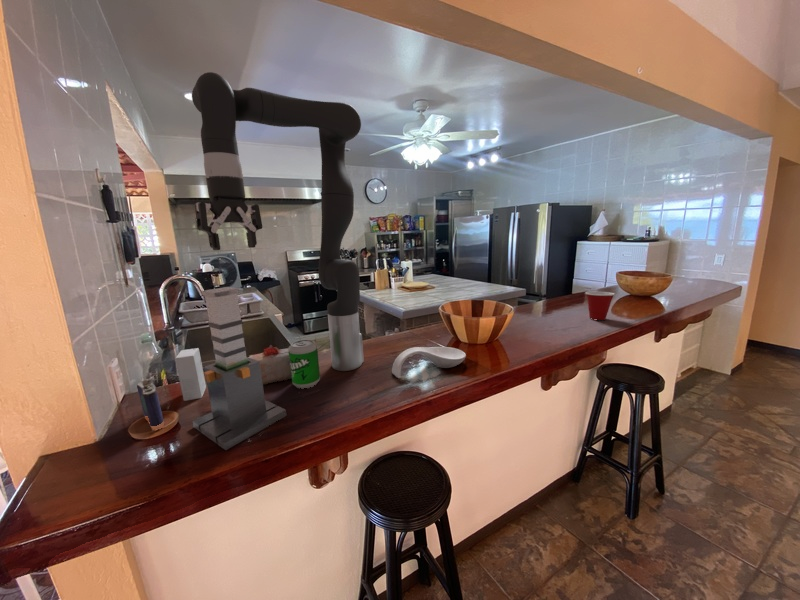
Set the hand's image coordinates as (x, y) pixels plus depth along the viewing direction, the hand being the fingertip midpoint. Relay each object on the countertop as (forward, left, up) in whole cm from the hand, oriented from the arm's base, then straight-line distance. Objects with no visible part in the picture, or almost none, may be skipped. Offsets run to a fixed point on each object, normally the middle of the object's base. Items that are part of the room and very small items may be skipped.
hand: (235, 248), depth 76 cm
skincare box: (+9, -14, -38) cm, 42 cm away
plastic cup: (-119, +69, -38) cm, 143 cm away
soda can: (-11, +7, -38) cm, 40 cm away
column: (+9, +9, -32) cm, 35 cm away
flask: (+20, -8, -38) cm, 44 cm away
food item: (-8, -3, -38) cm, 39 cm away
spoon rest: (-38, +31, -39) cm, 63 cm away
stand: (+9, +9, -38) cm, 40 cm away
